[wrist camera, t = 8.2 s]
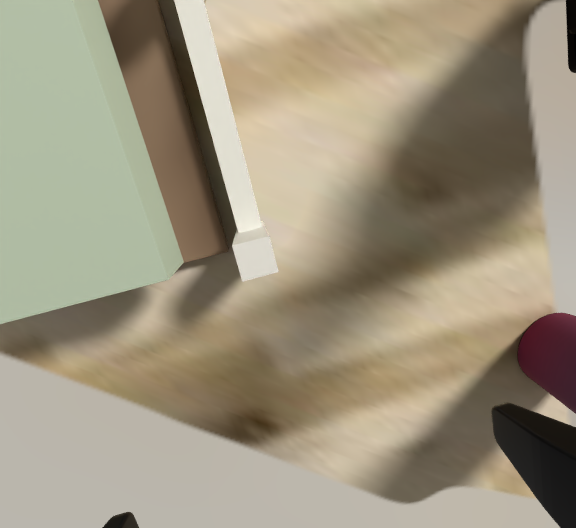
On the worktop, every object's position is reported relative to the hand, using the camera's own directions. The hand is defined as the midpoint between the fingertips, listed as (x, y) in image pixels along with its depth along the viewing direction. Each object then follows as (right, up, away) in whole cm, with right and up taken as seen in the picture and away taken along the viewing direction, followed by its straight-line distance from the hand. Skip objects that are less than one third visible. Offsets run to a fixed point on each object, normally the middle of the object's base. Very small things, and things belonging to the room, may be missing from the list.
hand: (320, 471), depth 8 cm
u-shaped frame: (-4, +12, +10) cm, 16 cm away
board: (-10, +10, +5) cm, 15 cm away
